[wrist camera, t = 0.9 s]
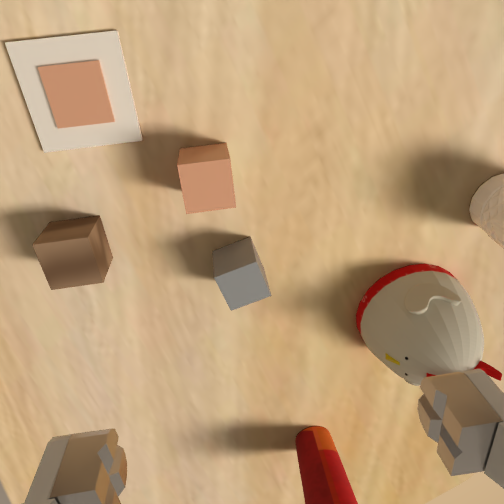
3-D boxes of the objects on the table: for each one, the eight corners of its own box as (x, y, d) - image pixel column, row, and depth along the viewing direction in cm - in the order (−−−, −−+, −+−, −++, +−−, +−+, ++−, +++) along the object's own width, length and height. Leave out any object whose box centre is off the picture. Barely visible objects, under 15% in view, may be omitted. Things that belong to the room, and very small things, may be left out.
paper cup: (290, 457, 64) (312, 557, 52) (286, 426, 60) (308, 527, 48) (337, 447, 64) (370, 545, 52) (336, 417, 60) (371, 514, 48)
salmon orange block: (179, 148, 38) (177, 165, 33) (226, 142, 38) (230, 158, 33) (187, 192, 40) (186, 213, 35) (231, 186, 40) (236, 207, 36)
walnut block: (50, 221, 40) (32, 244, 36) (99, 215, 40) (87, 237, 36) (66, 263, 43) (51, 289, 38) (112, 257, 43) (103, 282, 39)
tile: (6, 42, 32) (3, 42, 32) (117, 30, 33) (116, 30, 32) (45, 151, 37) (43, 153, 36) (142, 139, 37) (141, 141, 37)
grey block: (212, 251, 44) (214, 277, 39) (250, 236, 44) (256, 261, 39) (227, 281, 46) (231, 310, 41) (263, 268, 46) (271, 295, 41)
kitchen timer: (353, 277, 48) (410, 368, 35) (463, 252, 48) (561, 335, 35) (358, 358, 55) (407, 460, 42) (455, 337, 55) (534, 432, 42)
